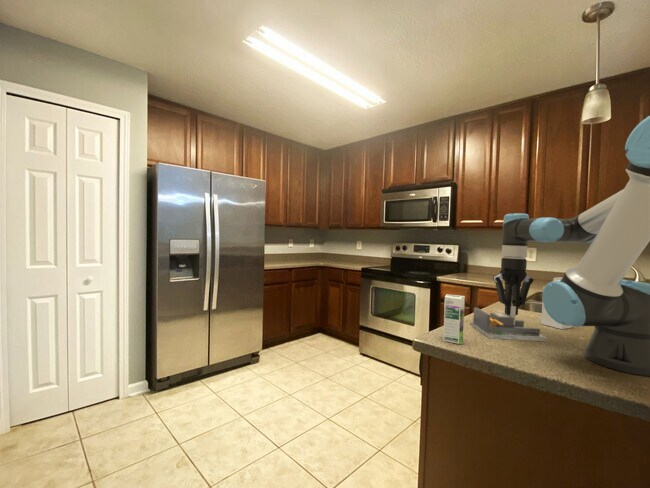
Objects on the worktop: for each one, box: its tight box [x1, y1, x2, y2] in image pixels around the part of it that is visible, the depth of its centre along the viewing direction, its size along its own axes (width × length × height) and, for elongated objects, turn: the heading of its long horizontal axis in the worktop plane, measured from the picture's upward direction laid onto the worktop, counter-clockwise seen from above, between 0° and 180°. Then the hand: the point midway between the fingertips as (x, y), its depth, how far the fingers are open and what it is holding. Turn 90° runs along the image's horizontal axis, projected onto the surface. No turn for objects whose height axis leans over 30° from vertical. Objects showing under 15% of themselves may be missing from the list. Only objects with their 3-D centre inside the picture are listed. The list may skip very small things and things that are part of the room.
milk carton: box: [541, 276, 573, 330], centre depth 113 cm, size 7×7×19 cm
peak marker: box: [489, 318, 503, 326], centre depth 102 cm, size 10×2×3 cm, turn 175°
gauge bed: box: [469, 307, 547, 342], centre depth 104 cm, size 15×18×7 cm
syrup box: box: [442, 293, 466, 345], centre depth 94 cm, size 6×6×14 cm
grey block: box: [489, 312, 514, 327], centre depth 104 cm, size 6×5×5 cm
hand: (510, 323), depth 104 cm, fingers closed
